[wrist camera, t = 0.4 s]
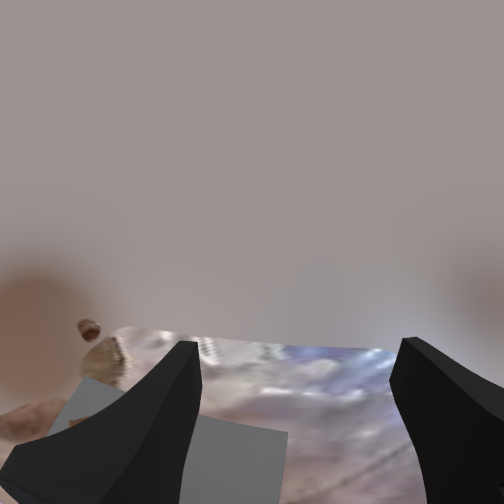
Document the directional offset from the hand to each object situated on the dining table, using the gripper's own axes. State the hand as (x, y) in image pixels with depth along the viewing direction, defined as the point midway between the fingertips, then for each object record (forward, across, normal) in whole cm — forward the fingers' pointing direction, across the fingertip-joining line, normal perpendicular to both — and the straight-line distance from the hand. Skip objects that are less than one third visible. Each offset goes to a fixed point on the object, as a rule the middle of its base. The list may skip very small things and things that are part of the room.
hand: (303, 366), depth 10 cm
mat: (+7, +10, +17) cm, 21 cm away
